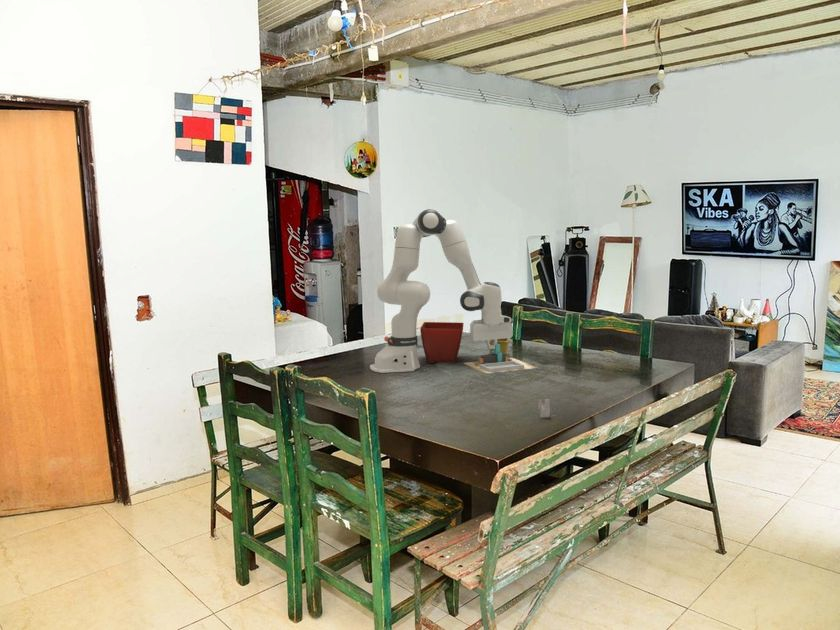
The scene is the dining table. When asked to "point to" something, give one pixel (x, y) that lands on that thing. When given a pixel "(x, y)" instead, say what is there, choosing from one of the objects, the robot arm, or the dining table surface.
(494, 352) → the teal stepped block
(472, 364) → the board
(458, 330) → the plant pot
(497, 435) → the dining table surface
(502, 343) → the flower pot
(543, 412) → the architectural model
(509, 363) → the tray
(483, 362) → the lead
